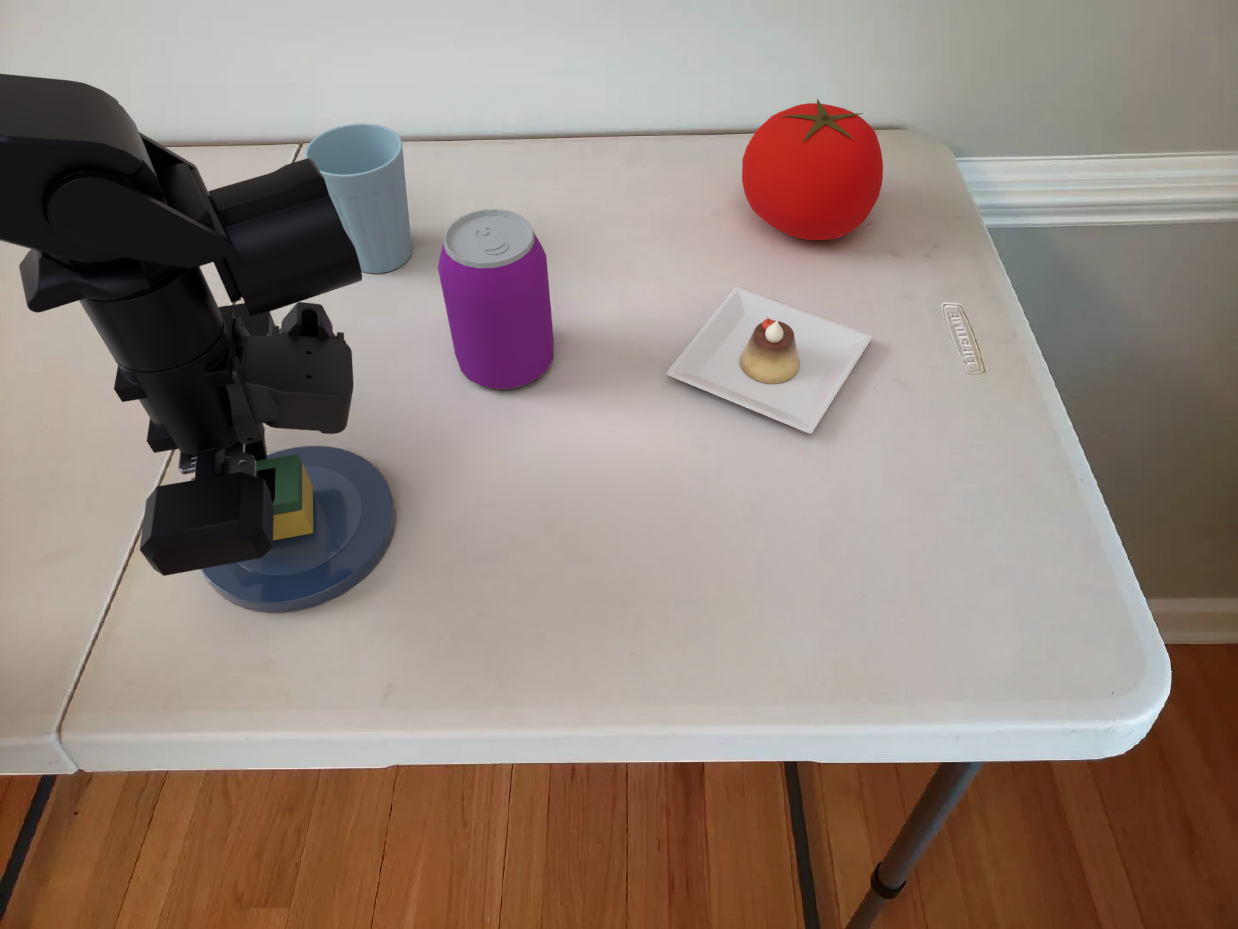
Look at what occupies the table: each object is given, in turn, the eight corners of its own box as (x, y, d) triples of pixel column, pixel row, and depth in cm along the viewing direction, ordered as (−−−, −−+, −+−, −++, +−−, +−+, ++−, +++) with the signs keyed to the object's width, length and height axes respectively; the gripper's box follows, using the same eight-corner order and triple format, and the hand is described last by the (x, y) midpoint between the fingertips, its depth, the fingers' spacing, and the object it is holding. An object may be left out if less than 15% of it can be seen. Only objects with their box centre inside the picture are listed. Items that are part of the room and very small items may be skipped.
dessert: (734, 296, 77) (740, 249, 74) (870, 346, 73) (882, 299, 70) (664, 384, 71) (666, 337, 67) (809, 444, 67) (819, 398, 63)
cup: (442, 242, 82) (421, 136, 74) (389, 292, 78) (361, 185, 70) (374, 219, 85) (346, 114, 77) (319, 266, 80) (284, 160, 72)
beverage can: (443, 348, 74) (416, 222, 64) (530, 317, 76) (516, 191, 67) (481, 409, 69) (457, 284, 60) (572, 374, 72) (563, 248, 62)
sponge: (218, 550, 59) (198, 518, 57) (221, 502, 62) (203, 469, 59) (313, 533, 60) (298, 500, 57) (312, 486, 63) (298, 453, 60)
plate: (192, 630, 57) (184, 620, 56) (206, 473, 66) (199, 462, 65) (402, 591, 59) (398, 580, 58) (390, 442, 67) (386, 431, 66)
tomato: (892, 212, 85) (920, 105, 76) (833, 279, 79) (857, 171, 70) (778, 170, 89) (793, 65, 81) (714, 230, 83) (723, 124, 75)
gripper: (327, 438, 43) (394, 608, 55) (321, 209, 55) (378, 391, 67) (79, 480, 42) (203, 646, 54) (127, 236, 54) (221, 417, 66)
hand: (261, 511), depth 60 cm, fingers closed on sponge, 4 cm apart
